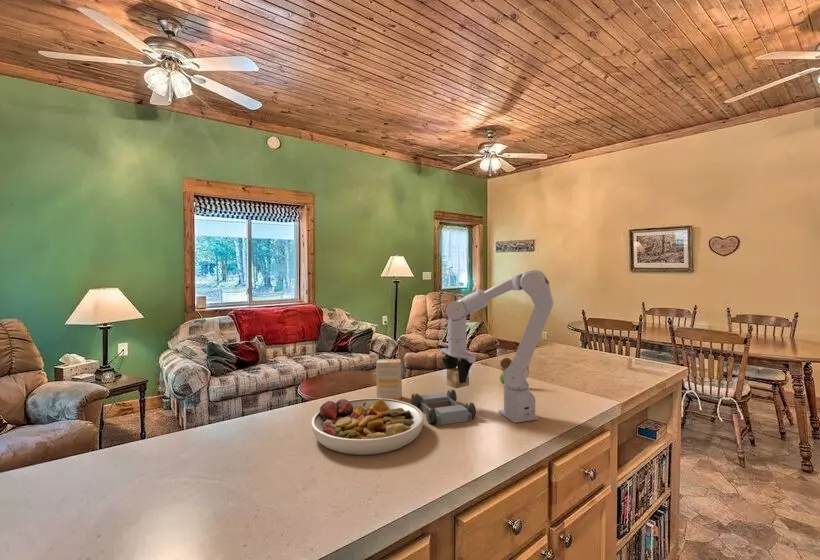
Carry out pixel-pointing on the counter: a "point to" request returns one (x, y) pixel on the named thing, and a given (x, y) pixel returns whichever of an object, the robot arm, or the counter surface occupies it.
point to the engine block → (455, 379)
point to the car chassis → (443, 408)
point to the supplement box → (389, 379)
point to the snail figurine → (504, 367)
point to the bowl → (366, 425)
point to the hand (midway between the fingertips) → (457, 380)
